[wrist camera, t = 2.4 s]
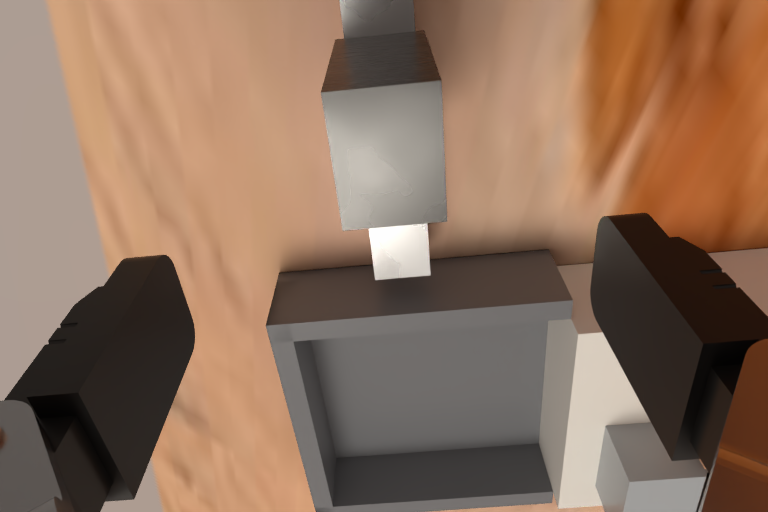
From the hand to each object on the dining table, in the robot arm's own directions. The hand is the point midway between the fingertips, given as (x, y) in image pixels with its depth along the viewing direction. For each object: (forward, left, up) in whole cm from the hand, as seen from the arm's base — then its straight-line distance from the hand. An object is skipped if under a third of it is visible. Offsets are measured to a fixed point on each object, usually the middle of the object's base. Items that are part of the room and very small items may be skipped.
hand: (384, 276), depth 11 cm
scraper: (0, 0, -14) cm, 14 cm away
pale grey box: (+18, +11, -9) cm, 23 cm away
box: (+16, +1, -14) cm, 21 cm away
